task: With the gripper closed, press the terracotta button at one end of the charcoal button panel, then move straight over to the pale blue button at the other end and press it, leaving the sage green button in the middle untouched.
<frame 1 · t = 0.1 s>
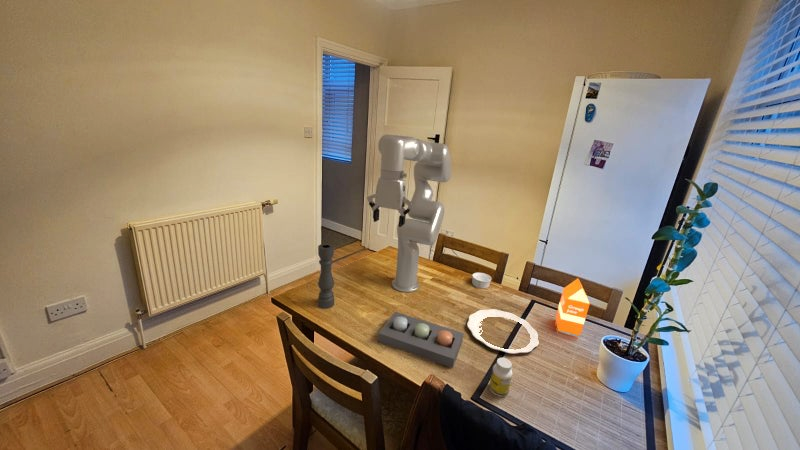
hand: (388, 223, 111), 37 cm above the table, tool pointing down, fingers open, 9 cm apart
plate: (501, 333, 116), on the table
candle holder: (326, 304, 125), on the table
terracotta button: (444, 338, 104), point 4 cm above the table, slide at 0.0 cm
sage button: (421, 331, 107), point 4 cm above the table, slide at 0.0 cm
supplement bottle: (498, 390, 91), on the table
orange juice: (566, 328, 121), on the table
button panel: (420, 341, 108), on the table
ramekin: (480, 285, 150), on the table
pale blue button: (400, 324, 109), point 4 cm above the table, slide at 0.0 cm
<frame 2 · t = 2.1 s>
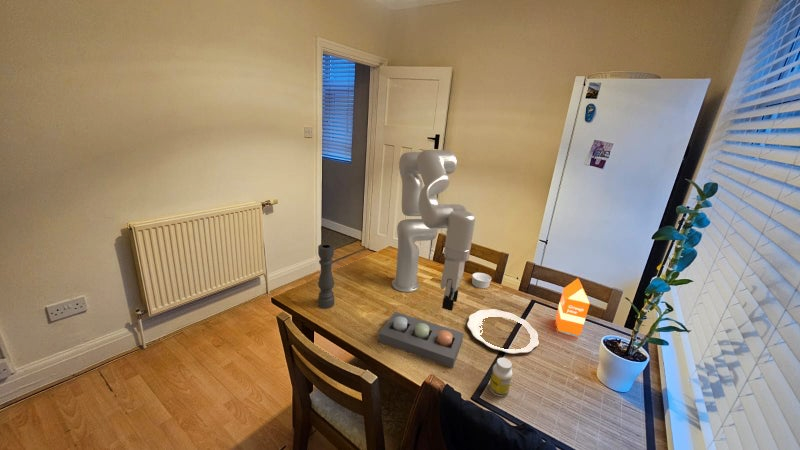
hand: (449, 304, 100), 17 cm above the table, tool pointing down, fingers open, 4 cm apart
nothing on the table moved.
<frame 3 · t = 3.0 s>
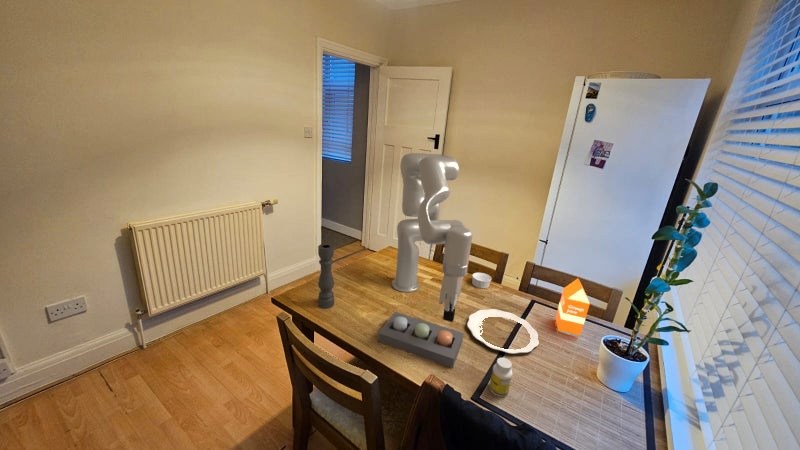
hand: (448, 319, 101), 12 cm above the table, tool pointing down, fingers closed
nothing on the table moved.
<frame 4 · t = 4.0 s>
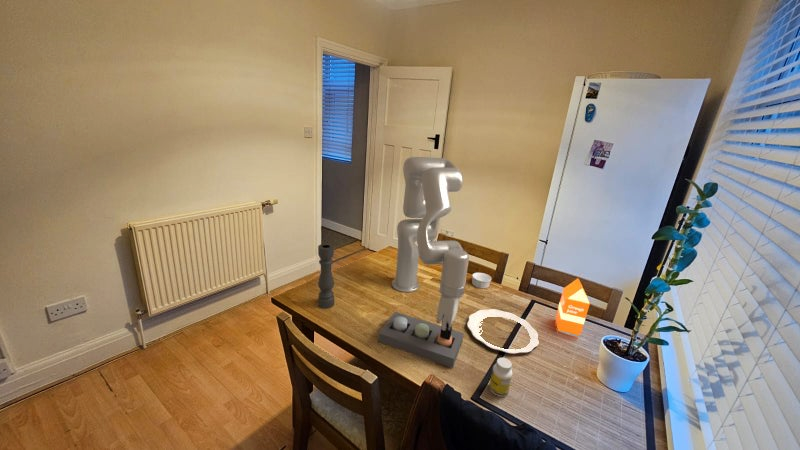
hand: (445, 337, 103), 5 cm above the table, tool pointing down, fingers closed
terracotta button: (444, 340, 104), point 3 cm above the table, slide at 0.8 cm, touching gripper
everything else where it was.
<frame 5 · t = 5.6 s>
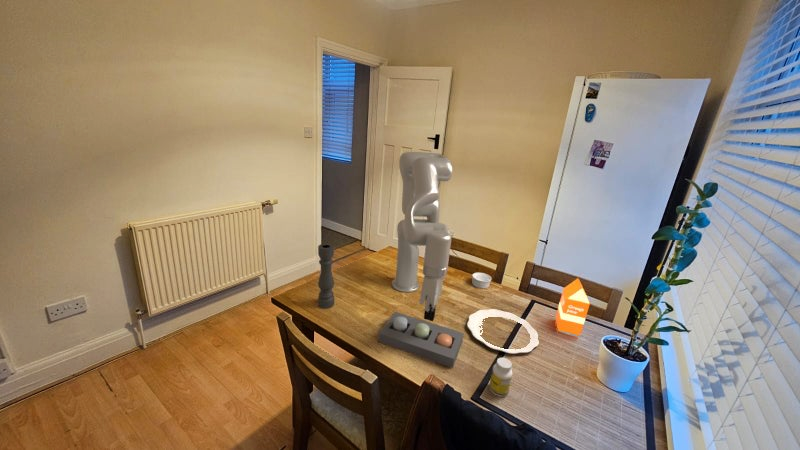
hand: (429, 318, 104), 10 cm above the table, tool pointing down, fingers closed
terracotta button: (444, 342, 104), point 3 cm above the table, slide at 1.3 cm
everything else where it was.
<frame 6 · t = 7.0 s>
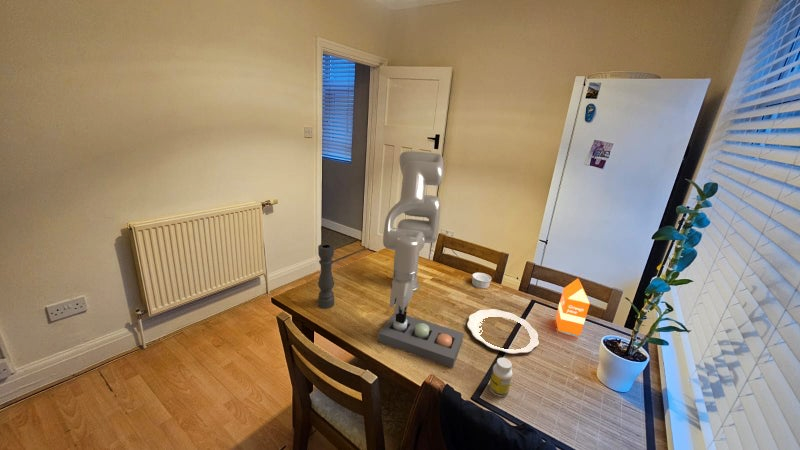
hand: (400, 321, 109), 6 cm above the table, tool pointing down, fingers closed
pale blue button: (400, 324, 109), point 4 cm above the table, slide at 0.0 cm, touching gripper
everything else where it was.
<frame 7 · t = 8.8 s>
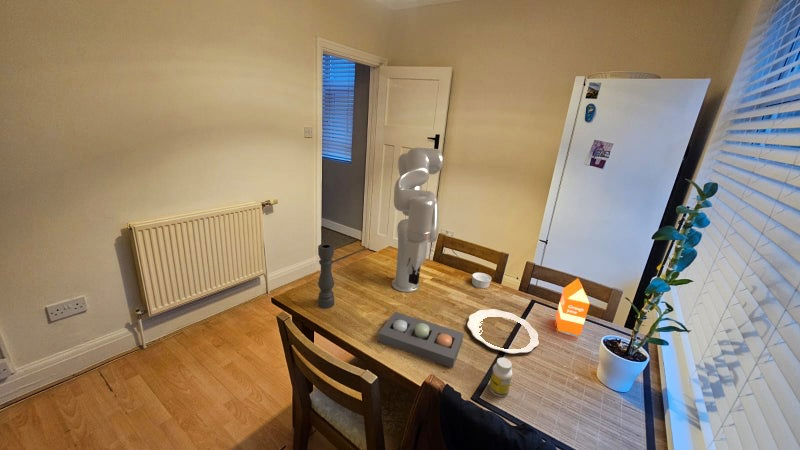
hand: (413, 282, 109), 19 cm above the table, tool pointing down, fingers closed
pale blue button: (400, 327, 110), point 3 cm above the table, slide at 1.4 cm
everything else where it was.
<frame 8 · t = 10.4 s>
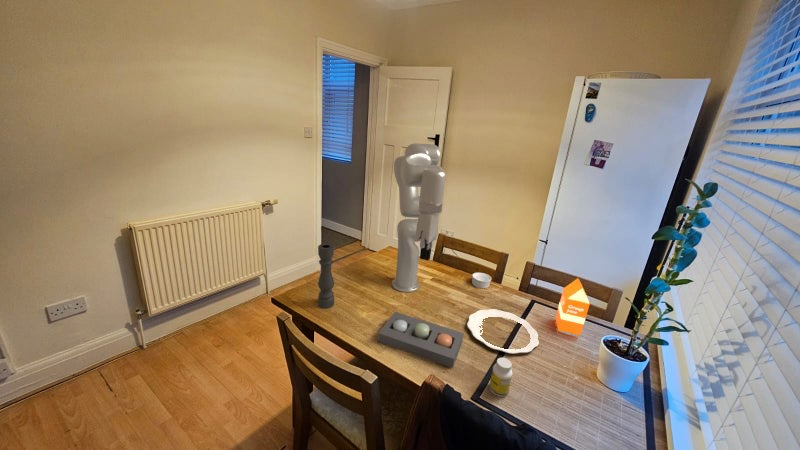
hand: (424, 258, 108), 27 cm above the table, tool pointing down, fingers closed
nothing on the table moved.
at the end: terracotta button slide at 1.3 cm; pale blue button slide at 1.4 cm; sage button slide at 0.0 cm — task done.
